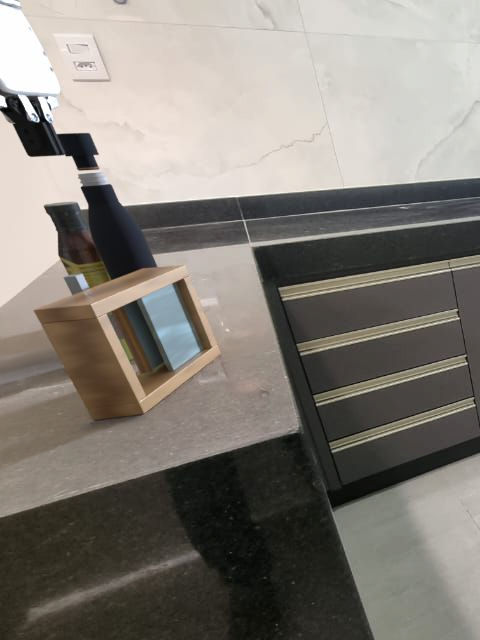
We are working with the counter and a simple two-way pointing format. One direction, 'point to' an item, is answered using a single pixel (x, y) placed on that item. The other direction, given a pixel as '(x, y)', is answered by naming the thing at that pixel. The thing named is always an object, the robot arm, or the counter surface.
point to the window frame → (107, 352)
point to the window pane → (127, 328)
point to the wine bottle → (107, 213)
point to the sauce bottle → (77, 243)
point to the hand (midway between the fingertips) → (47, 155)
